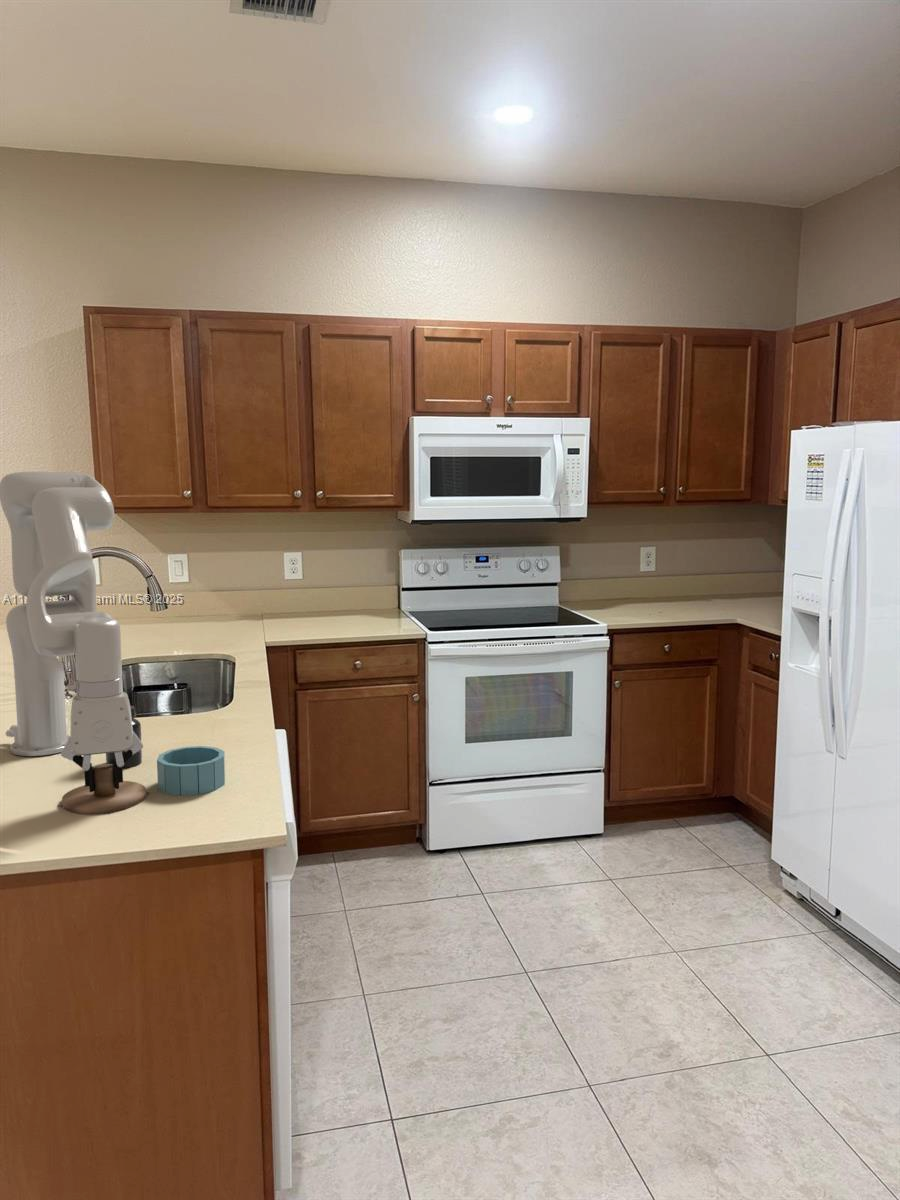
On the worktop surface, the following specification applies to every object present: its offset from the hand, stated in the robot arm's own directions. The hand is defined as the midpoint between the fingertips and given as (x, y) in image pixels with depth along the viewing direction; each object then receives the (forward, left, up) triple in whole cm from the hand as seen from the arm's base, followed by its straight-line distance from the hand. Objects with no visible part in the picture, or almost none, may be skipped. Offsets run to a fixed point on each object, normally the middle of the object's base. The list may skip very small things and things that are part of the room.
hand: (104, 787), depth 154 cm
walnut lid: (0, 0, -2) cm, 2 cm away
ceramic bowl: (+10, +12, -3) cm, 16 cm away
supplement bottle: (-10, +18, -3) cm, 21 cm away
